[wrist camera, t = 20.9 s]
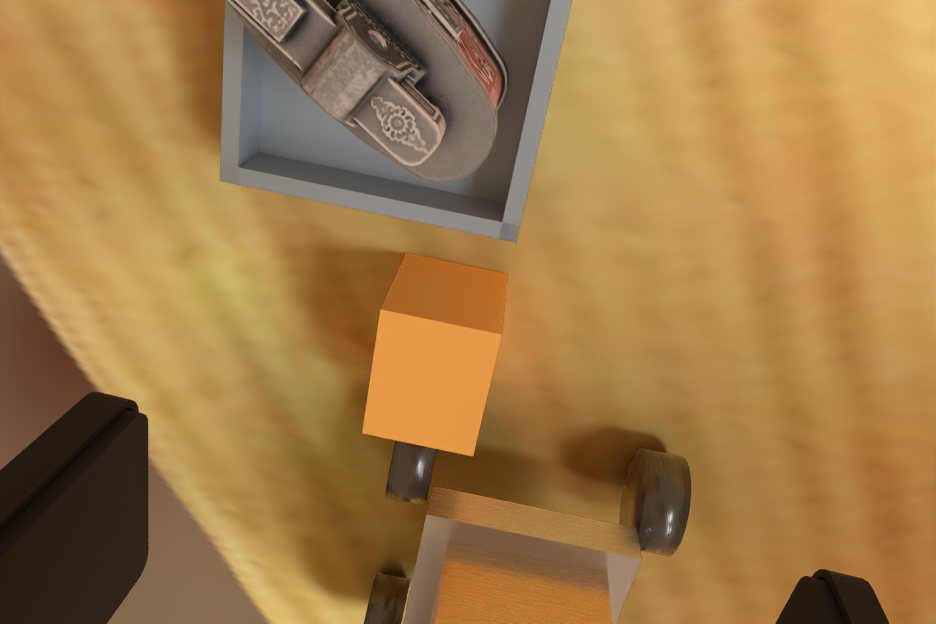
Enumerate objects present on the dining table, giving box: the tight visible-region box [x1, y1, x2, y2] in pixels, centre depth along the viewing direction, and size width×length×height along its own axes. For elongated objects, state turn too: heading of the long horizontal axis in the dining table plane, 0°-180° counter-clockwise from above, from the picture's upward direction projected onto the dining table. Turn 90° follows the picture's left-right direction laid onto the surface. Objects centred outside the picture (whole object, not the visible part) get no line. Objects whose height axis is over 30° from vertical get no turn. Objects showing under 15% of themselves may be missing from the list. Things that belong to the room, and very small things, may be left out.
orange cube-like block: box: [362, 253, 508, 456], centre depth 27 cm, size 4×5×5 cm
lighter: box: [226, 0, 508, 183], centre depth 19 cm, size 8×3×10 cm, turn 46°
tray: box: [220, 0, 572, 242], centre depth 23 cm, size 10×12×2 cm
